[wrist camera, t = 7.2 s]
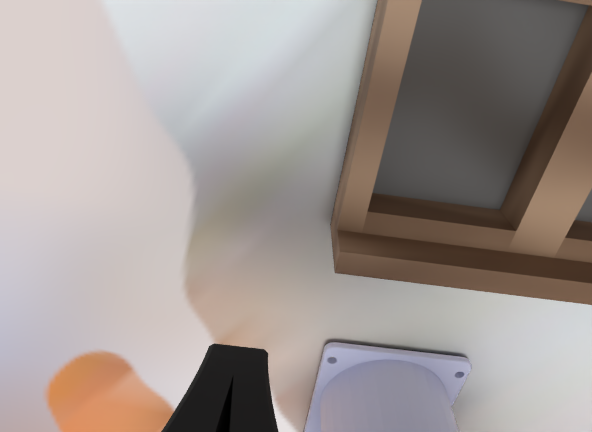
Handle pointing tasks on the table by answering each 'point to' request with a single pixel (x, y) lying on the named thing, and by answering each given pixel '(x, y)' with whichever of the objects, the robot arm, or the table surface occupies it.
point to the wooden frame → (472, 149)
